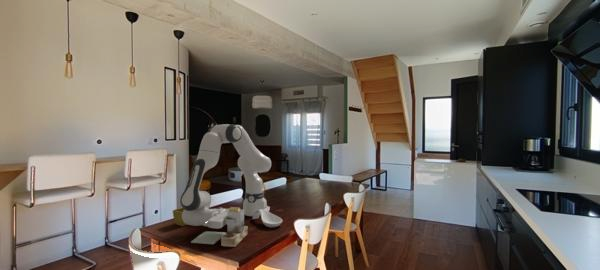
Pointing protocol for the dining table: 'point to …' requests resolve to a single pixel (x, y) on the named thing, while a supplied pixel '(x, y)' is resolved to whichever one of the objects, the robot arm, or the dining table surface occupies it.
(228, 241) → the block plane
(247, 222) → the dining table surface
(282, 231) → the dining table surface
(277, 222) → the spoon rest
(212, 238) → the mat
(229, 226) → the grey tall block
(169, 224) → the dining table surface
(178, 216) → the flower pot
